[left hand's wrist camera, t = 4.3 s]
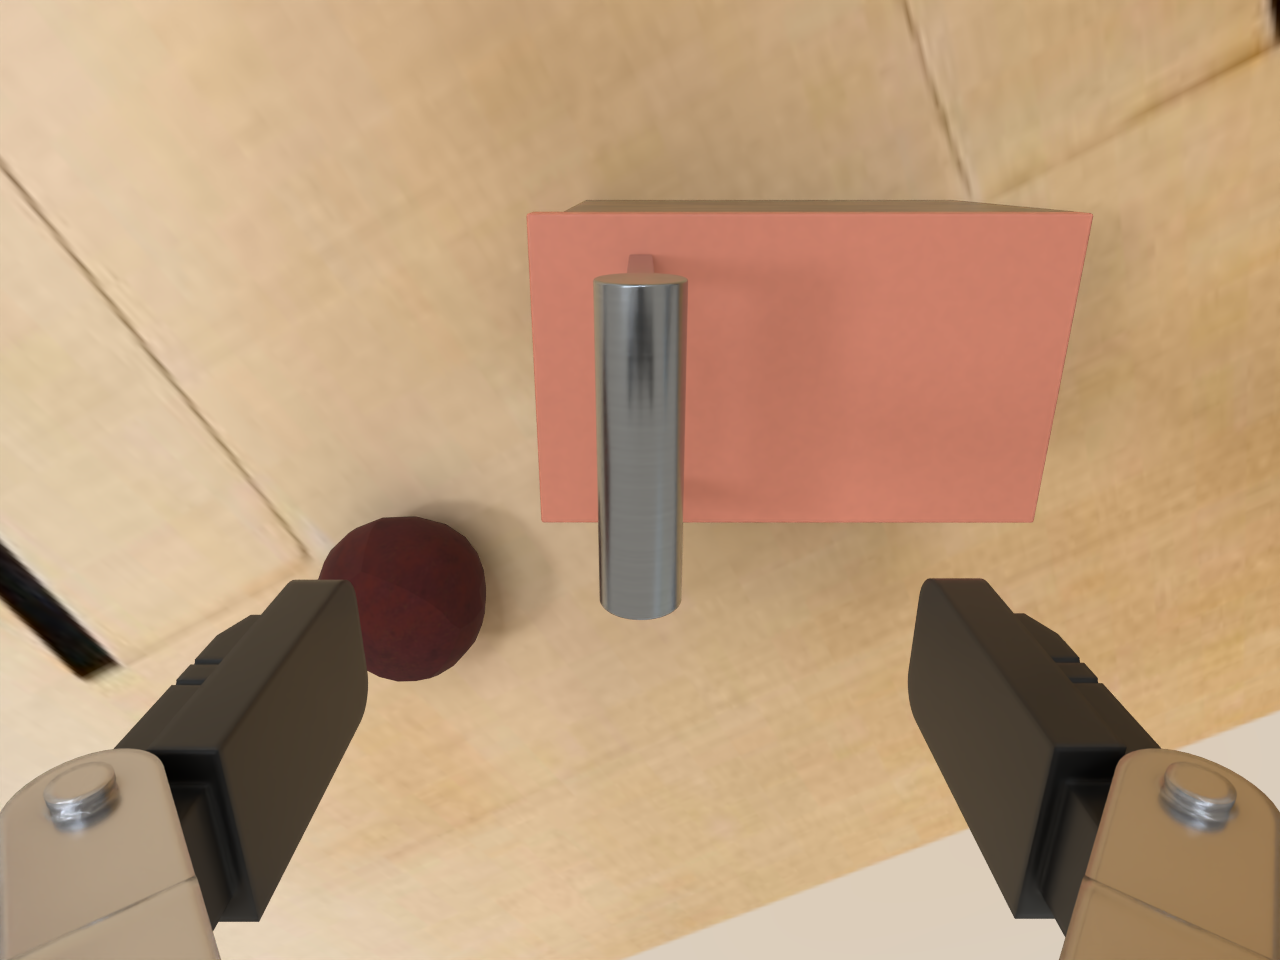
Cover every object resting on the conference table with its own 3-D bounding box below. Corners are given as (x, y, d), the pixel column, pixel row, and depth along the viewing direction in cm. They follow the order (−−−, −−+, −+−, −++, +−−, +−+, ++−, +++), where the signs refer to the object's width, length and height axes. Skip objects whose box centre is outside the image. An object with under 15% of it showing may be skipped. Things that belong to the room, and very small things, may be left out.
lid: (544, 511, 28) (503, 656, 20) (530, 211, 24) (472, 232, 16) (1020, 511, 28) (1183, 656, 20) (1077, 211, 24) (1305, 232, 16)
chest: (589, 425, 38) (572, 511, 28) (584, 200, 34) (562, 211, 25) (924, 425, 38) (1020, 511, 28) (954, 200, 34) (1076, 211, 24)
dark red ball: (454, 649, 42) (420, 738, 35) (321, 576, 40) (259, 654, 34) (527, 545, 40) (504, 619, 33) (389, 463, 38) (336, 524, 32)
